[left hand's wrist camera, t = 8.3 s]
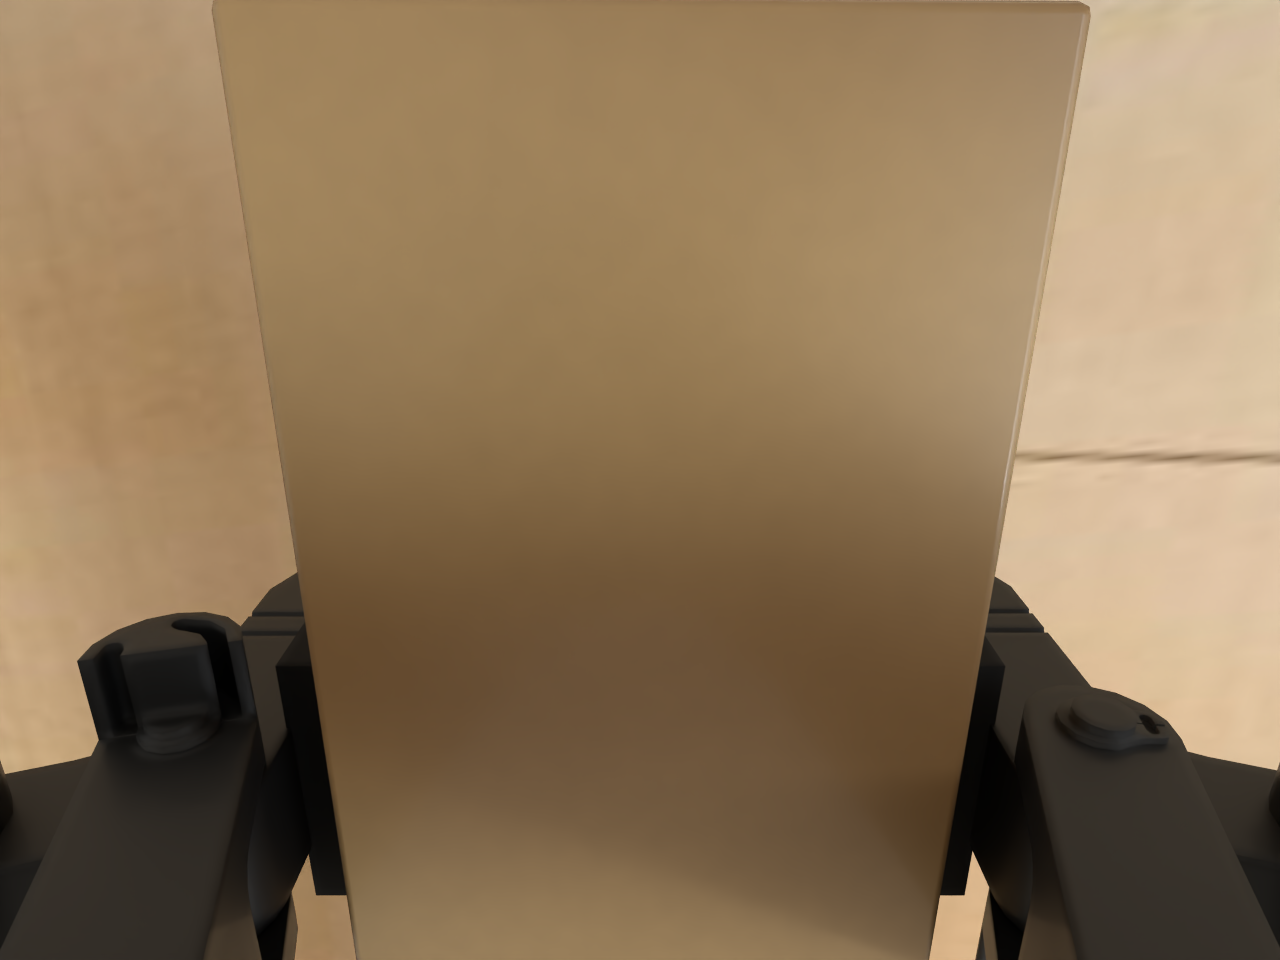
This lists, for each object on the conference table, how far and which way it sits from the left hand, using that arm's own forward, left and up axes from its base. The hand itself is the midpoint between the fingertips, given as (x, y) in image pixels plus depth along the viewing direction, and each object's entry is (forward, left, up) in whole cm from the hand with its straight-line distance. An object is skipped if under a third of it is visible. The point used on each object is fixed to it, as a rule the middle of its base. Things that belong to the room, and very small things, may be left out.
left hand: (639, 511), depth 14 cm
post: (+19, +14, -1) cm, 24 cm away
